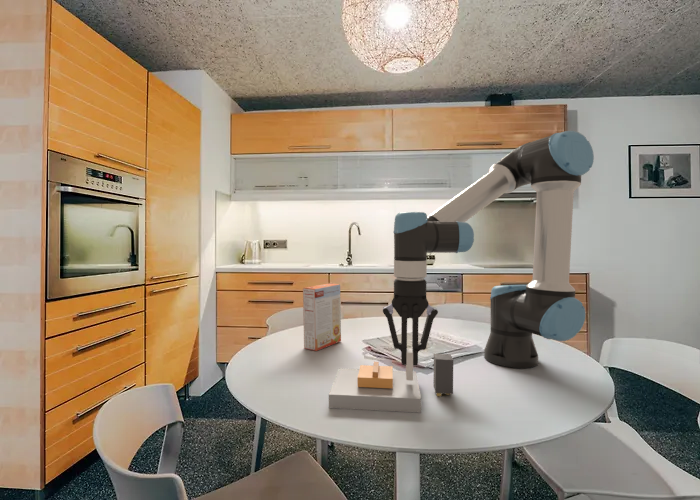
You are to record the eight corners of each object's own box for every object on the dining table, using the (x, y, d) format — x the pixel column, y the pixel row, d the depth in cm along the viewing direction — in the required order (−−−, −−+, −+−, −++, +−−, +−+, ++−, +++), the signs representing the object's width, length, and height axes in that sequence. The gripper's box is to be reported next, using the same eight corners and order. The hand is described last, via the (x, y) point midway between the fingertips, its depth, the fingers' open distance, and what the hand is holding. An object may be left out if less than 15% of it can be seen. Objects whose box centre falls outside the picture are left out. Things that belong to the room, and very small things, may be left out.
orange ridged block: (392, 375, 90) (392, 361, 90) (392, 388, 82) (392, 373, 82) (360, 373, 91) (360, 360, 91) (357, 386, 83) (357, 372, 83)
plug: (450, 390, 89) (450, 354, 89) (452, 398, 85) (453, 359, 85) (433, 390, 89) (433, 353, 89) (435, 397, 85) (435, 359, 85)
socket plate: (415, 382, 94) (415, 371, 94) (421, 412, 78) (421, 398, 78) (339, 379, 96) (338, 368, 96) (328, 407, 80) (328, 394, 80)
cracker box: (328, 339, 134) (328, 282, 134) (341, 341, 131) (341, 283, 130) (302, 348, 123) (302, 286, 122) (315, 351, 119) (315, 288, 119)
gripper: (436, 277, 88) (435, 373, 89) (382, 276, 89) (382, 371, 90) (440, 280, 81) (439, 385, 81) (381, 279, 82) (381, 383, 83)
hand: (409, 378), depth 86 cm, fingers closed
